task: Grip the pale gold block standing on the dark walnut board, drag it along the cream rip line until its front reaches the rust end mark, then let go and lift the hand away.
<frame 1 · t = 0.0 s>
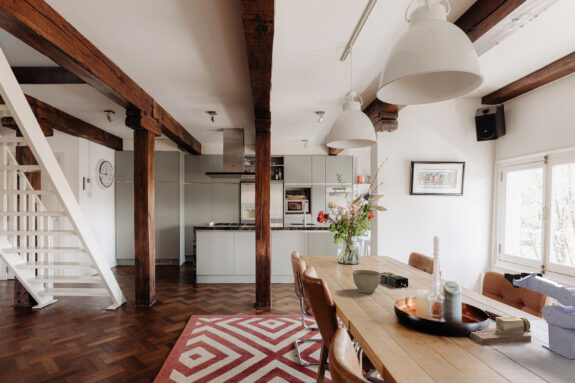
hand: (513, 275, 125), 22 cm above the table, tool horizontal, fingers open, 7 cm apart
walnut board: (498, 337, 116), on the table
planter bowl: (366, 291, 178), on the table
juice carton: (392, 284, 195), on the table
pale gold block: (509, 331, 117), point 2 cm above the table, touching walnut board
gavel: (499, 322, 132), on the table
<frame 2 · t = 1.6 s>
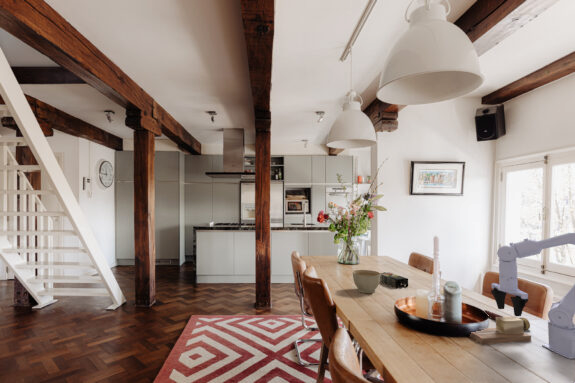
hand: (509, 312, 117), 9 cm above the table, tool pointing down, fingers open, 7 cm apart
nothing on the table moved.
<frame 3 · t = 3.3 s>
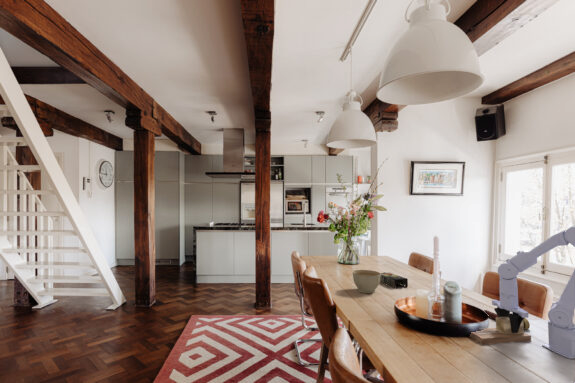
hand: (509, 330, 117), 3 cm above the table, tool pointing down, fingers closed on pale gold block, 4 cm apart
pale gold block: (509, 331, 117), point 2 cm above the table, touching gripper, walnut board
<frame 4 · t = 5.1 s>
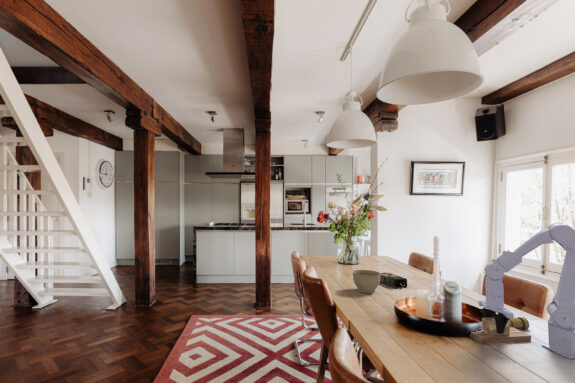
hand: (495, 330, 116), 3 cm above the table, tool pointing down, fingers closed on pale gold block, 4 cm apart
pale gold block: (495, 332, 116), point 2 cm above the table, touching gripper
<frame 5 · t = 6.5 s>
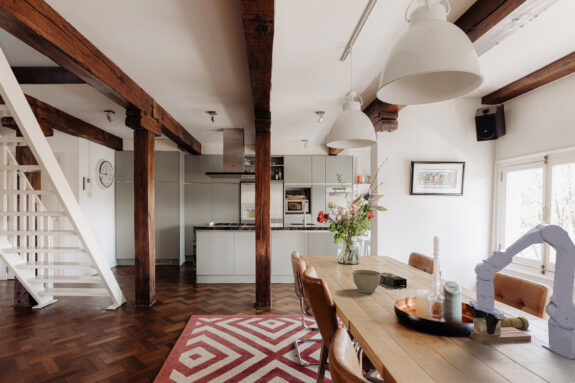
hand: (486, 331, 115), 3 cm above the table, tool pointing down, fingers closed on pale gold block, 4 cm apart
pale gold block: (486, 333, 115), point 2 cm above the table, touching gripper, walnut board
when the fingers open (3 cm above the table, at t = 7.2 s): pale gold block stays where it is, resting on walnut board.
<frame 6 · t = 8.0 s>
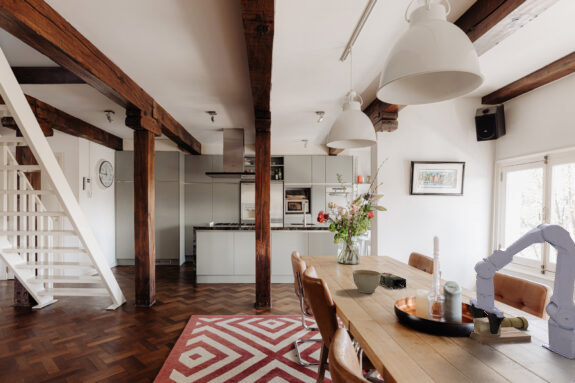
hand: (486, 329, 115), 3 cm above the table, tool pointing down, fingers open, 7 cm apart
pale gold block: (486, 333, 115), point 2 cm above the table, touching walnut board
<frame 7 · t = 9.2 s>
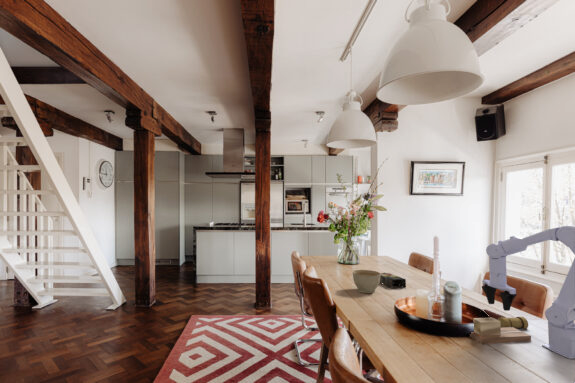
hand: (498, 307, 123), 9 cm above the table, tool pointing down, fingers open, 7 cm apart
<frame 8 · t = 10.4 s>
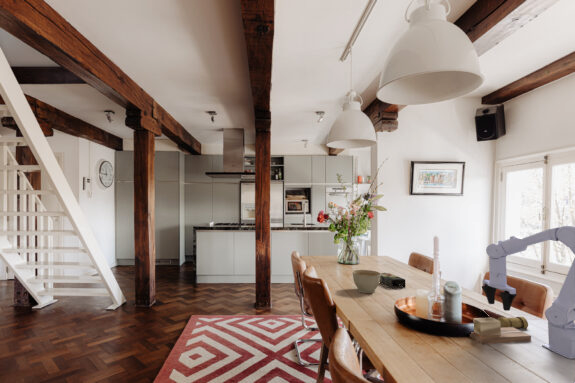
hand: (498, 307, 123), 9 cm above the table, tool pointing down, fingers open, 7 cm apart
at the end: pale gold block 0.3 cm from the target spot on the walnut board, point 2.0 cm above the walnut board's base; pale gold block tilted 0°; the gripper is holding nothing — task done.
